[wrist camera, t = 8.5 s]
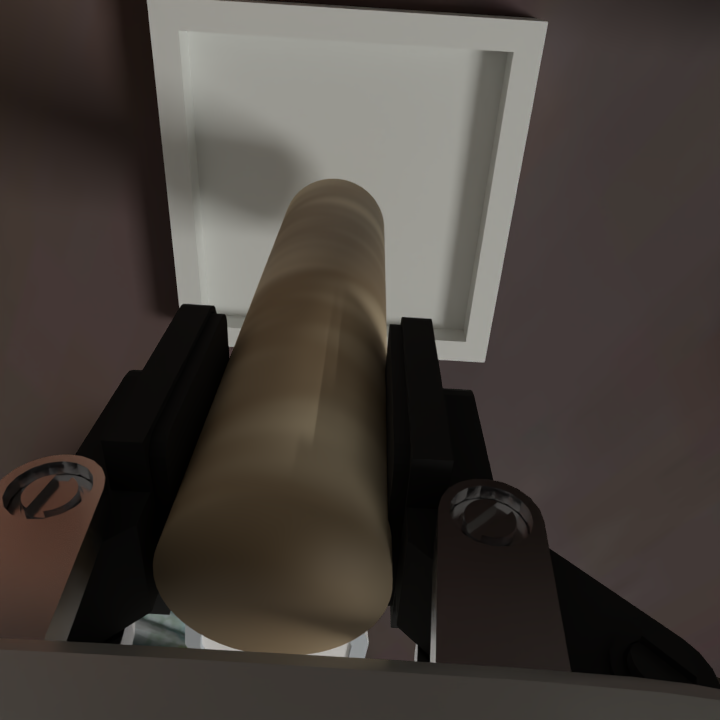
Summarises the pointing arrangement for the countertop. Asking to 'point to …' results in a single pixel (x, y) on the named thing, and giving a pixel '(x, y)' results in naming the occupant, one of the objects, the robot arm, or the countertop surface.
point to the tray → (346, 144)
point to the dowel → (294, 448)
